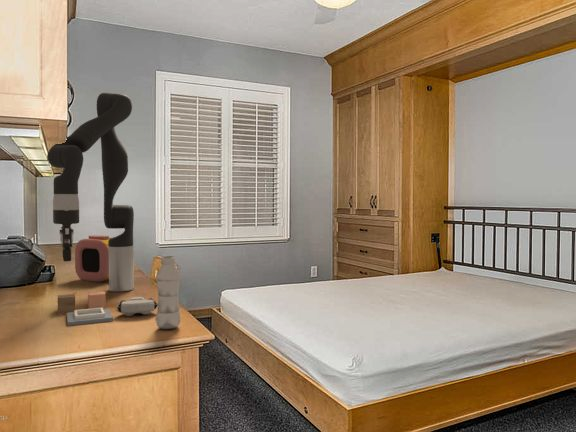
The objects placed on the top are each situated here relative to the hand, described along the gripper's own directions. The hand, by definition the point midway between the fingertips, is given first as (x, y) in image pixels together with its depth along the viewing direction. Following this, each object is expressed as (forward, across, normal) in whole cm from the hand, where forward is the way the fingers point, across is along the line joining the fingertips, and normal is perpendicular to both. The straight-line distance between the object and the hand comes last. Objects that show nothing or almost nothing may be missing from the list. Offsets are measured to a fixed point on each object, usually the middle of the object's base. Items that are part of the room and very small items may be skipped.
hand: (66, 259), depth 147 cm
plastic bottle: (+17, +34, +24) cm, 45 cm away
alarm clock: (+16, -55, +14) cm, 59 cm away
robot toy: (+17, +11, +20) cm, 28 cm away
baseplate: (+17, +12, +6) cm, 22 cm away
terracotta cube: (+17, 0, +9) cm, 19 cm away
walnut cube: (+17, -1, 0) cm, 17 cm away
